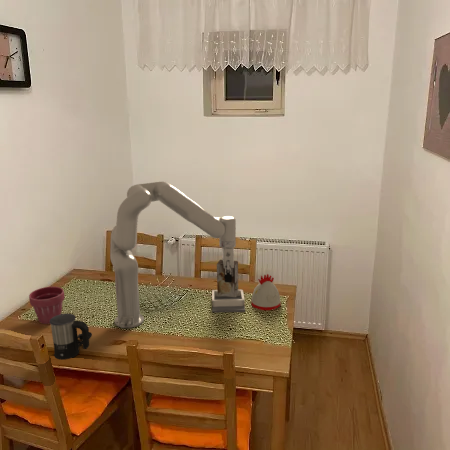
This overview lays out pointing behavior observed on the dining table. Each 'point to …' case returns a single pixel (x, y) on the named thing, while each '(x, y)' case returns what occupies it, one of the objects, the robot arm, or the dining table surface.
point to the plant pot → (47, 303)
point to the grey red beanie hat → (265, 295)
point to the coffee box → (227, 287)
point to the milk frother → (68, 336)
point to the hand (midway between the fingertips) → (227, 278)
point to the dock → (228, 302)
